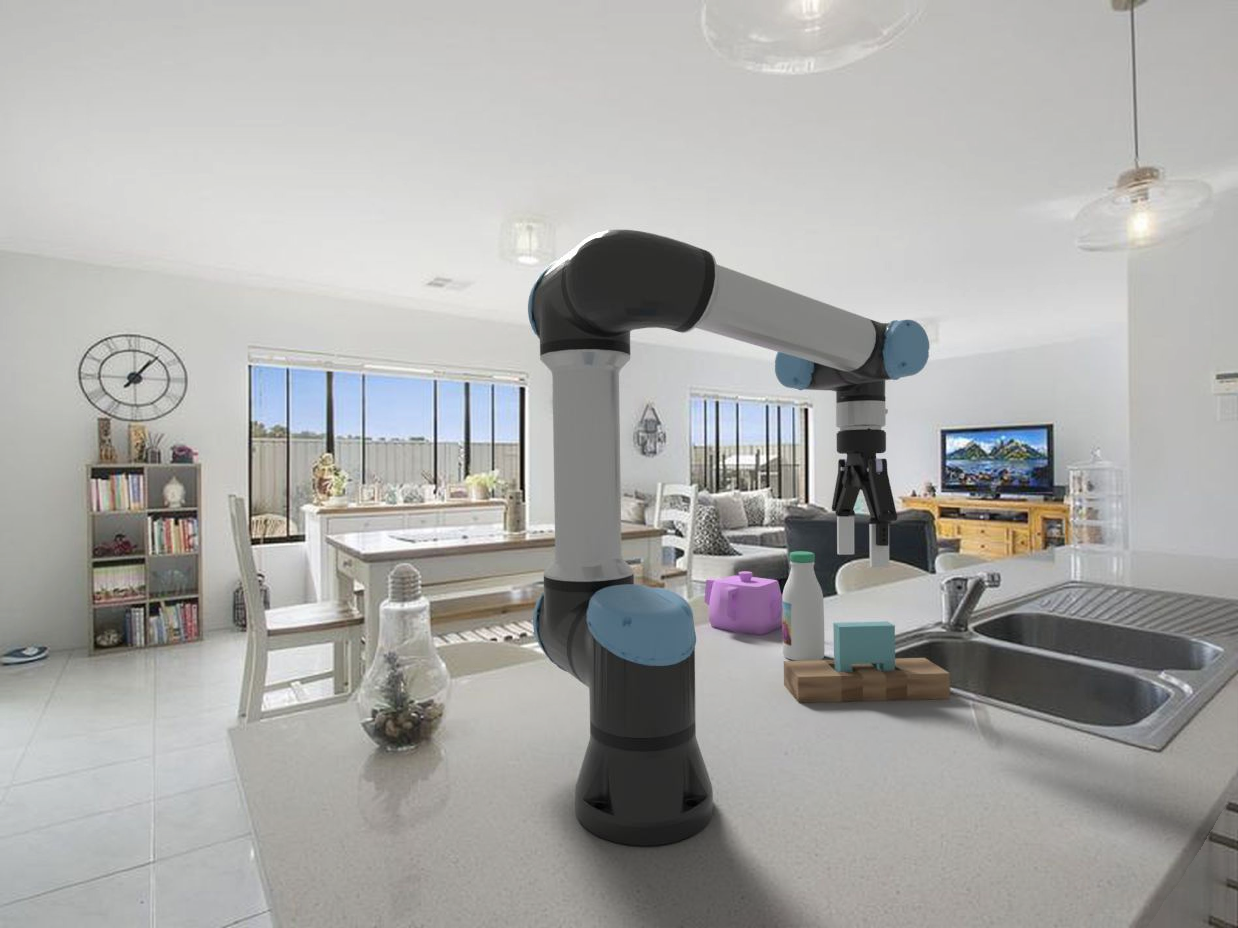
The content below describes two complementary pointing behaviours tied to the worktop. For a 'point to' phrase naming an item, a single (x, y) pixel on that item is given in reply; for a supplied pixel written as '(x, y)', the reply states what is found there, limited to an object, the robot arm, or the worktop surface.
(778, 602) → the teakettle
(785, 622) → the milk bottle
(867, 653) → the clip
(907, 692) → the wooden slotted block
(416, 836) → the worktop surface
